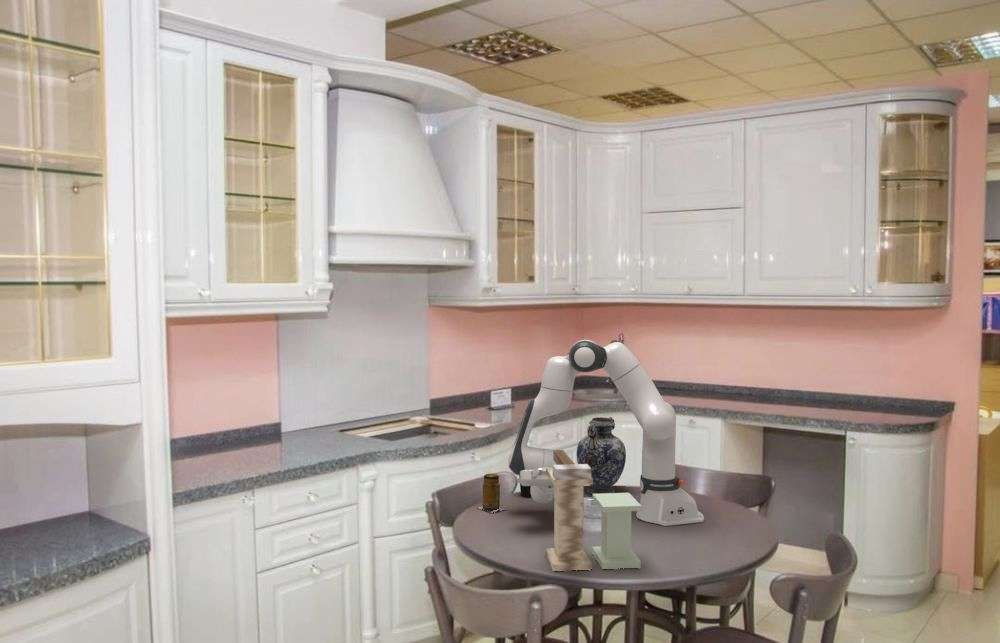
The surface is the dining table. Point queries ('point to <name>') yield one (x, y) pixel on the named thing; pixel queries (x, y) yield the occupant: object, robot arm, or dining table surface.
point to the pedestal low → (616, 531)
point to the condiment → (491, 492)
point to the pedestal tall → (568, 525)
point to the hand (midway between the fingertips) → (554, 470)
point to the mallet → (569, 468)
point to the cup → (525, 491)
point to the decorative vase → (602, 455)
